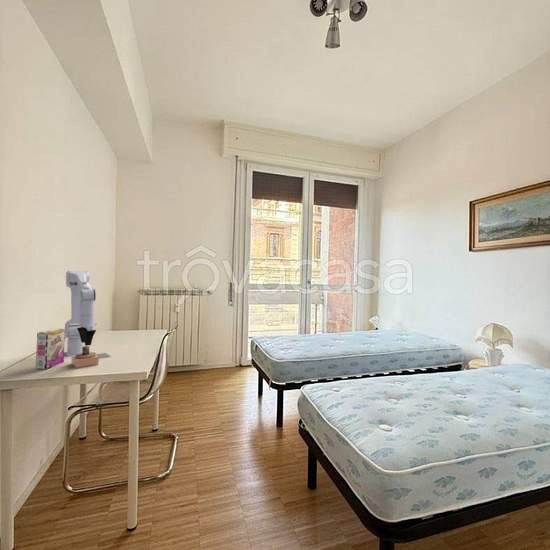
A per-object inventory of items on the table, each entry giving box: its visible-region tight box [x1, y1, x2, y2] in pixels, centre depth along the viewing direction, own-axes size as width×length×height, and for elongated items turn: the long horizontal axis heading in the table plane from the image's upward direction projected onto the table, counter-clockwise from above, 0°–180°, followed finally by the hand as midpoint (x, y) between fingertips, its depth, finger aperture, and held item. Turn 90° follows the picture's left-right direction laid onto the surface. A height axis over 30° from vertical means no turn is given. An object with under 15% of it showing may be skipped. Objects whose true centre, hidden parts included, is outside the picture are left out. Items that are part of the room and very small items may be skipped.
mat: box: [96, 352, 112, 360], centre depth 154 cm, size 10×10×1 cm
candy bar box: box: [35, 328, 66, 370], centre depth 138 cm, size 11×5×16 cm, turn 178°
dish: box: [71, 355, 100, 369], centre depth 140 cm, size 9×9×4 cm
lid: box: [75, 345, 96, 359], centre depth 141 cm, size 8×8×4 cm
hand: (86, 343), depth 141 cm, fingers open, 7 cm apart
